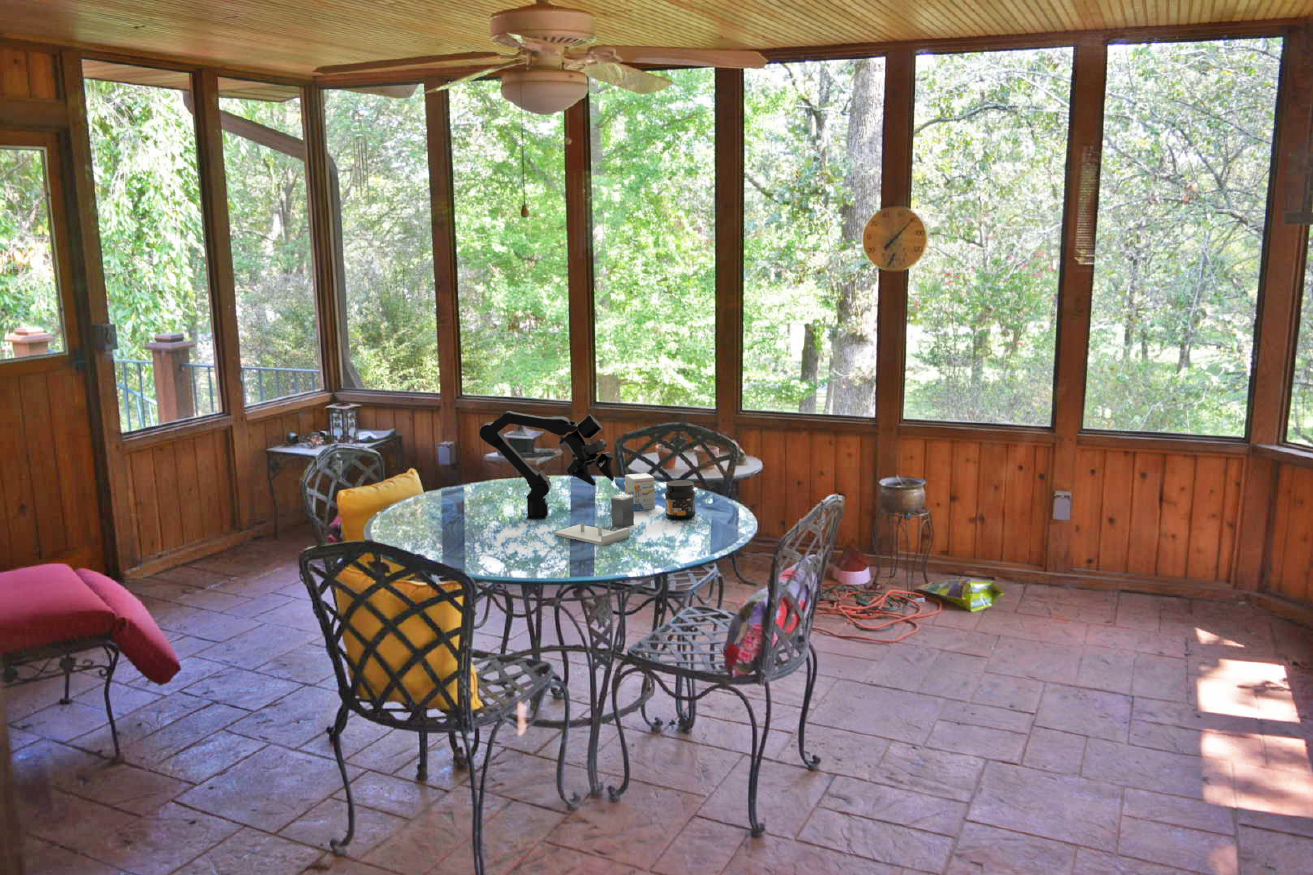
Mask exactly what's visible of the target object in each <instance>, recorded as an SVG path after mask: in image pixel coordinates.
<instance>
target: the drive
mask: <svg viewBox="0 0 1313 875" xmlns="http://www.w3.org/2000/svg"><path fill="white" fill-rule="evenodd" d="M610 504H611V507H610V508H611V527H616V528H621V529H624V528H629V527H630V526H634V525H635V520H634V519H635V517H634V515H635V513H634V512H635V511H634V507H633V495H627V494H625V493H620V494H615V495H612V496H611V497H610Z"/></svg>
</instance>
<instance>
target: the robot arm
mask: <svg viewBox="0 0 1313 875" xmlns="http://www.w3.org/2000/svg"><path fill="white" fill-rule="evenodd" d="M508 425H516V426H522V427H523V426H524V427H528V428H534V429H542V430H544V431H547V432H549V433H551V434H554V435H557V436H560V439H559V443H558V444H559V445H560V446H563V447H564V446H566V445H567V447H568V449H570V451H571V453H572V456H571V457H572V458H573V460H572V461H571V462H570V464H569V465H568V467H566V472H567V474H568V475H569V476H570V477H571V476H572V477H573V478H577V479H580V480H582V481H584V482H585V483H586V484H587V483H588V484H589V485H591V486H593V487H596V485H597V484H596V481H595V480H594V478H593V476H592V475H591V473H590V471H589V470H588V467H592V466H596V468H598V471H599V472H600V473H601V474H603V475H604V476H605V477H606V478H607V479H608V480H609V481H610V482H613V481H614V480H615V477H614V474H613V469H612V461H613V460H614V459H615V456H614V454H613V453H612V452H610V451H607V452H603V451H605V450H606V448H607V446H608V445H607V443H606V441H605V440H604V438H601V439H598V440H597V441H596V442H594V443H587V442H586V439H589V440H591V439H592V438H593V437H594V436H596V435H598V433H599V432H601V431H602V430H603V426H602V425H601V423H600V422H599V420H597V419H596V418H595V417H593V416H592V415H591V413H589V414H588V415H587V416H585V418H583V420H581V421H580V422H576V421H573V420H570V419H569V418H568V417H567V416H564V415H563V416H539V415H534V414H527V413H521V412H515V411H512V410H507V411H505V412H504V413H503V414H502V415H501V416H500V417H498V418H497V419H495V420H494V421H490V422H485V423H484V424H483V425H482V426H481V428H480V430H479V437H480V438H481V440H483V441H484V442H485V443H487V444H488V445H489V446H492V447H493V448H495V449H497V450H498V451H499V453H501V455H502V456H503V457H504V458H505V459H506V460H507V461H508V462H509V463H510V464H511V465H512V466H513V467H514V468H515V469H516V470H517V471H518V473H519V474H521V475H522V476H523V478H524V479H525V481H526V483H527V484H528V487H529V488H530V491H529V492H528V494H527V495H526V500H527V502H526V503H527V516H526V519H546V518H547V517H548V515H549V503H548V502H547V497H546V498H545V496H547V495H548V494H549V492H550V490H551V488H552V481H551V480H550V479H551V477H550V476H548V475H546V473H545V472H544V470H542V469H541V470H540V471H537V470H535V469H534V468H533V467H532V466H531V464H530V463H528V462H527V460H525V458H523V457H522V455H520V453H519V452H518V451H517V450H516V449H515V448H514V446H512V445H511V444H510V443H509V442H508V441H507V439H506V436H505V435H504V433H503V431H502V430H503V429H504V428H505V427H507V426H508ZM600 452H602V453H600Z"/></svg>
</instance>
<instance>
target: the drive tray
mask: <svg viewBox="0 0 1313 875" xmlns="http://www.w3.org/2000/svg"><path fill="white" fill-rule="evenodd" d="M553 535H554V536H556V535H559V536H558V537H561V536H562V538H568V539H571V540H575V539H576V540H577V541H581V542H584V543H585V542H586V543H591V544H595V545H599V546H603V547H604V546H607V545H608V546H609V545H611V544H614V543H616V542H619V541H623V540H625V539H628V538H630V528H629V527H625V528H621V529H618V530H615V531H614V530H608V529H604V528H603V526H598V527H594V526H589V525H585V523H580V524H576V525H573V526H569V527H567V528H563V529H559V530H556V531H554V532H553Z"/></svg>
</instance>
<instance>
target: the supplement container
mask: <svg viewBox="0 0 1313 875" xmlns="http://www.w3.org/2000/svg"><path fill="white" fill-rule="evenodd" d="M665 486H666V487H665V488H666V490H665V492H664V496H665V500H664V501H665V503H664V504H665V512H664V514H665V516H666V517H667V518H668V519H670V520H674V519H675V521H684V520H685V519H686V520H690V519H692V518H694V517H695V516H696V515H697V513H696V491H695V490H694V489H695V483H694V481H691V480H685V479H678V480H677V479H675V480H670V481H666V485H665ZM686 520H685V521H686Z"/></svg>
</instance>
